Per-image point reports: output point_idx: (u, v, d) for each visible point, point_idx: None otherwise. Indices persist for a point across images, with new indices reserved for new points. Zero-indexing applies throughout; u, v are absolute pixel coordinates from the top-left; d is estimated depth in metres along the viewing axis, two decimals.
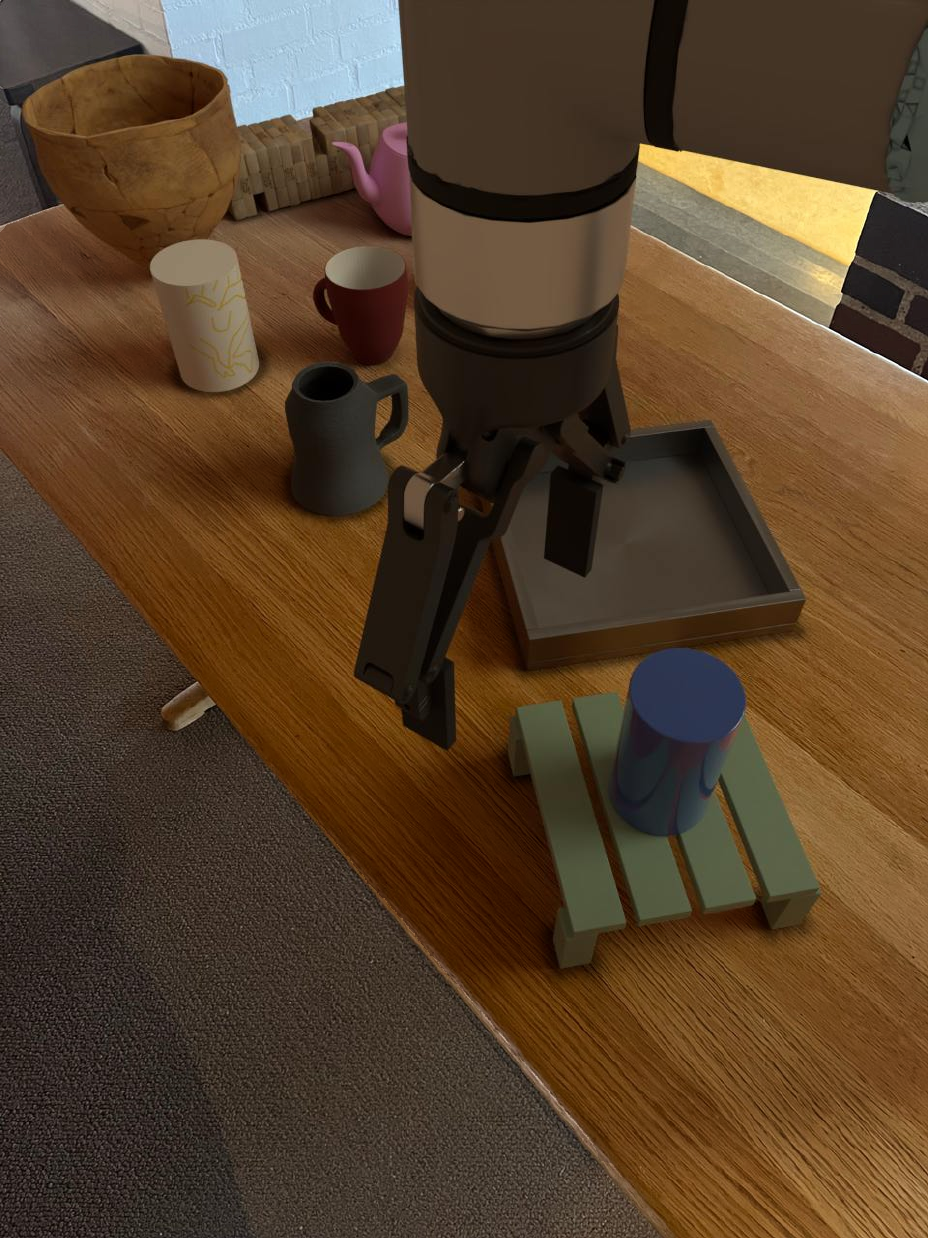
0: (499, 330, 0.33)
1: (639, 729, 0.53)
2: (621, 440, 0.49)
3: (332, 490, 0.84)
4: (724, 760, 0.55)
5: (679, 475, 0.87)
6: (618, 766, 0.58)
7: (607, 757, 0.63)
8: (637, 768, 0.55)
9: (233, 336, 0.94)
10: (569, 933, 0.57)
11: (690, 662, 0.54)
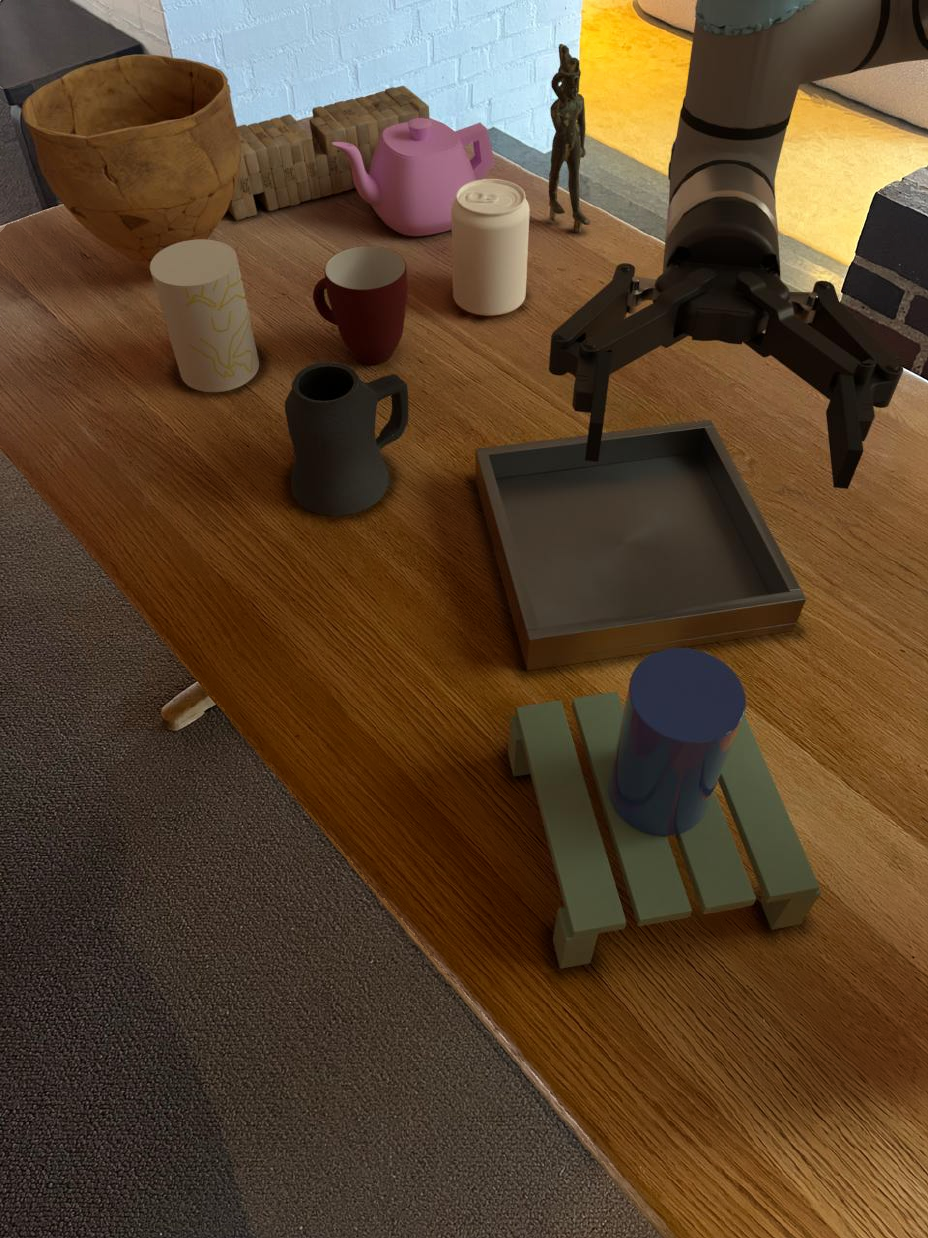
0: None
1: (639, 729, 0.53)
2: (884, 365, 0.55)
3: (332, 490, 0.84)
4: (724, 760, 0.55)
5: (679, 475, 0.87)
6: (618, 766, 0.58)
7: (607, 757, 0.63)
8: (637, 768, 0.55)
9: (233, 336, 0.94)
10: (569, 933, 0.57)
11: (690, 662, 0.54)
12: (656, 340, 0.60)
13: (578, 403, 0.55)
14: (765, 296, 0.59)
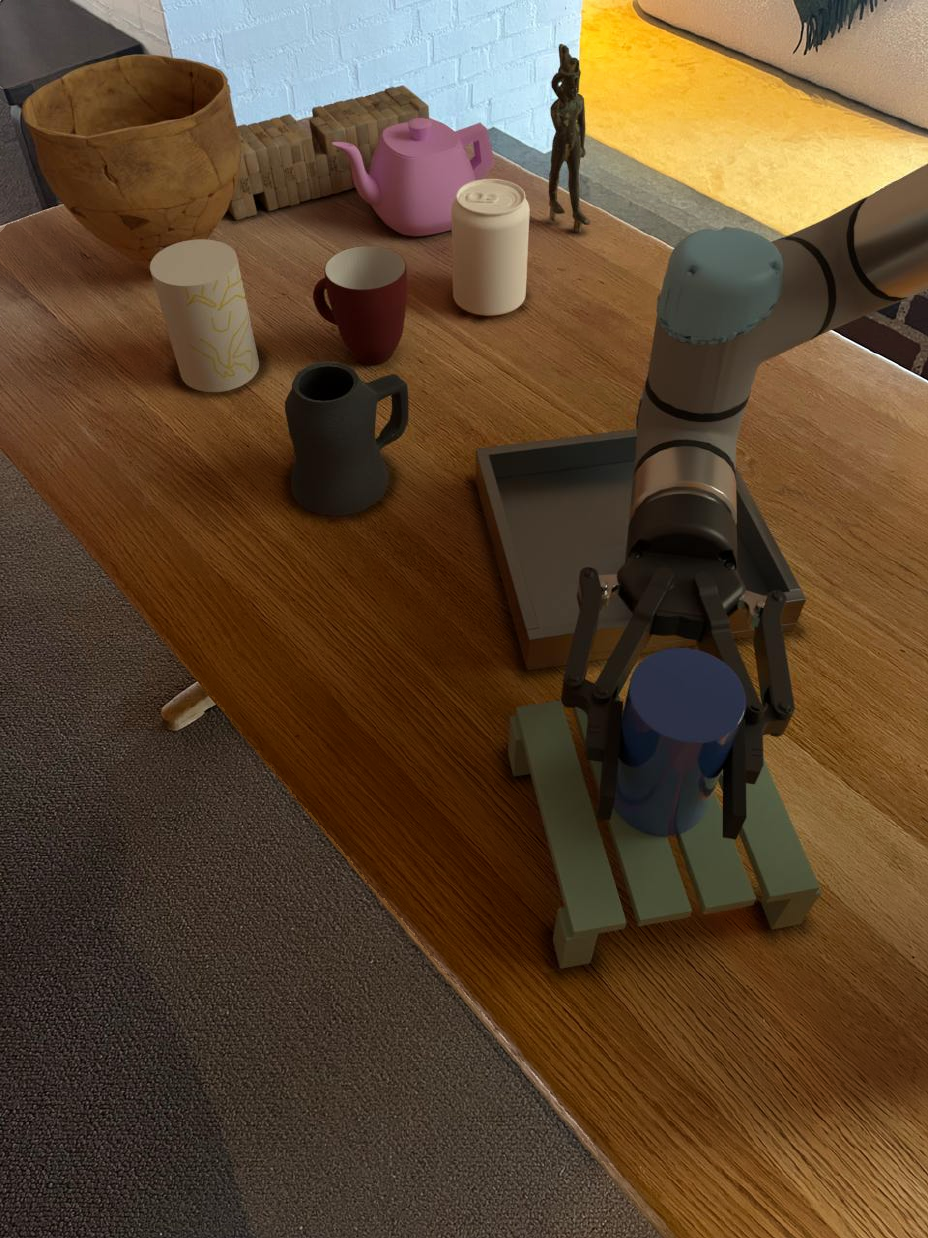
0: None
1: (639, 729, 0.53)
2: (778, 701, 0.57)
3: (332, 490, 0.84)
4: (724, 760, 0.55)
5: None
6: (618, 766, 0.58)
7: None
8: (637, 768, 0.55)
9: (233, 336, 0.94)
10: (569, 933, 0.57)
11: (690, 662, 0.54)
12: (641, 649, 0.62)
13: (590, 755, 0.56)
14: (720, 601, 0.61)
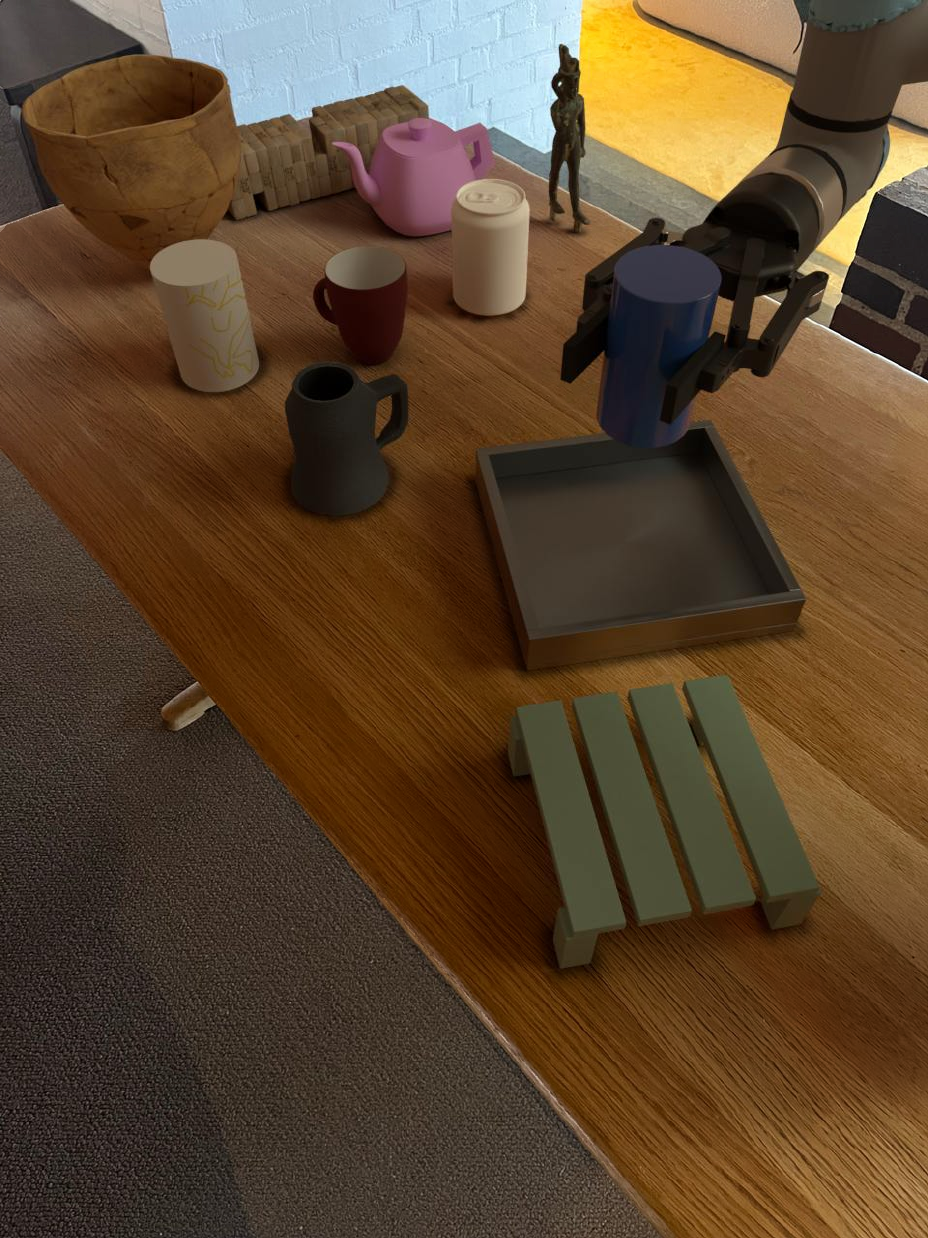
0: None
1: (613, 291, 0.58)
2: (766, 335, 0.60)
3: (332, 490, 0.84)
4: (686, 354, 0.59)
5: (679, 475, 0.87)
6: None
7: (607, 757, 0.63)
8: (609, 345, 0.61)
9: (233, 336, 0.94)
10: (569, 933, 0.57)
11: (685, 257, 0.59)
12: None
13: None
14: (761, 261, 0.64)
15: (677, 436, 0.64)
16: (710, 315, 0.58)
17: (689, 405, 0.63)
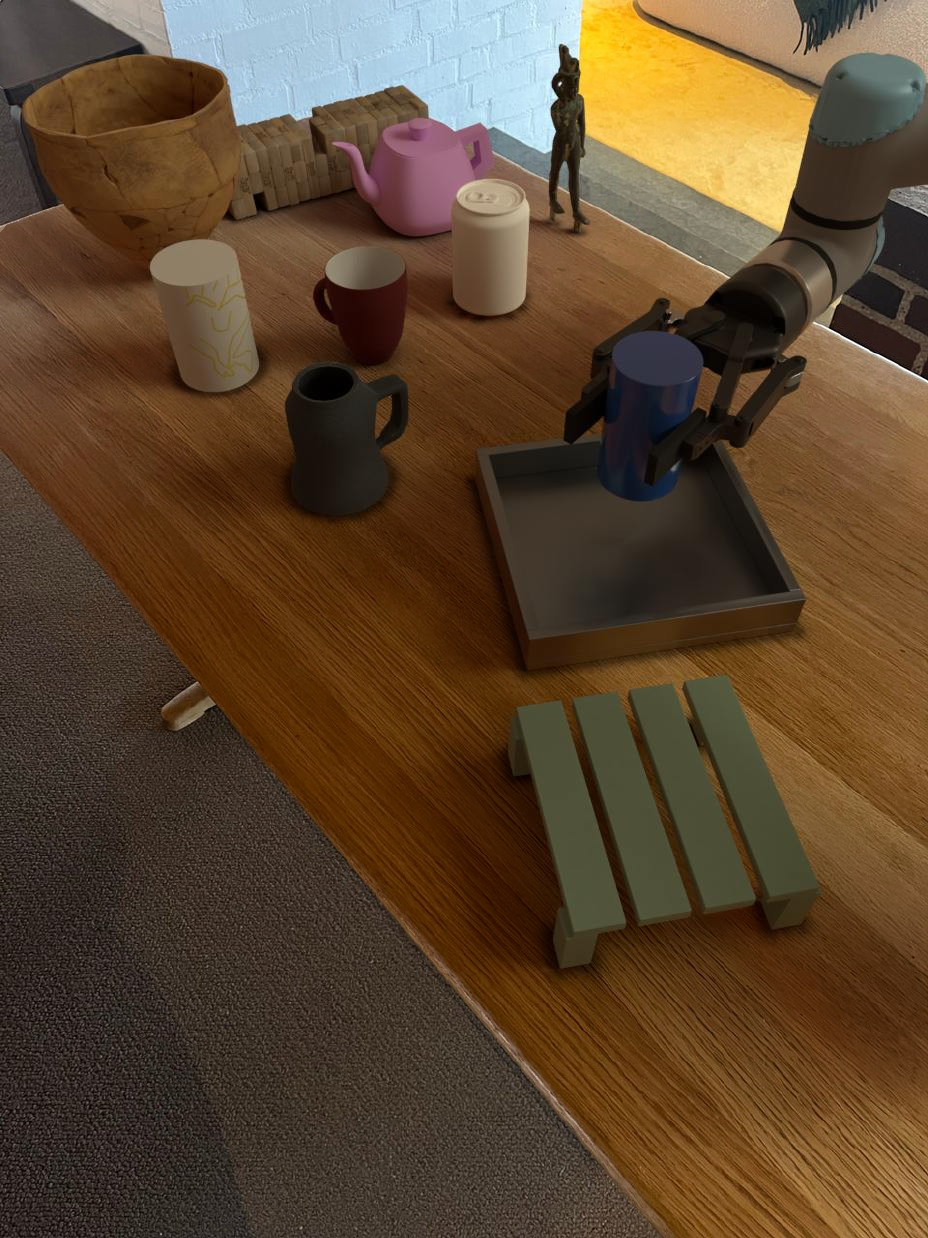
0: None
1: (610, 370, 0.68)
2: (742, 413, 0.69)
3: (332, 490, 0.84)
4: (670, 427, 0.69)
5: (679, 475, 0.87)
6: None
7: (607, 757, 0.63)
8: (607, 414, 0.71)
9: (233, 336, 0.94)
10: (569, 933, 0.57)
11: (675, 343, 0.68)
12: None
13: None
14: (747, 344, 0.74)
15: (664, 492, 0.74)
16: (692, 395, 0.67)
17: (674, 467, 0.73)
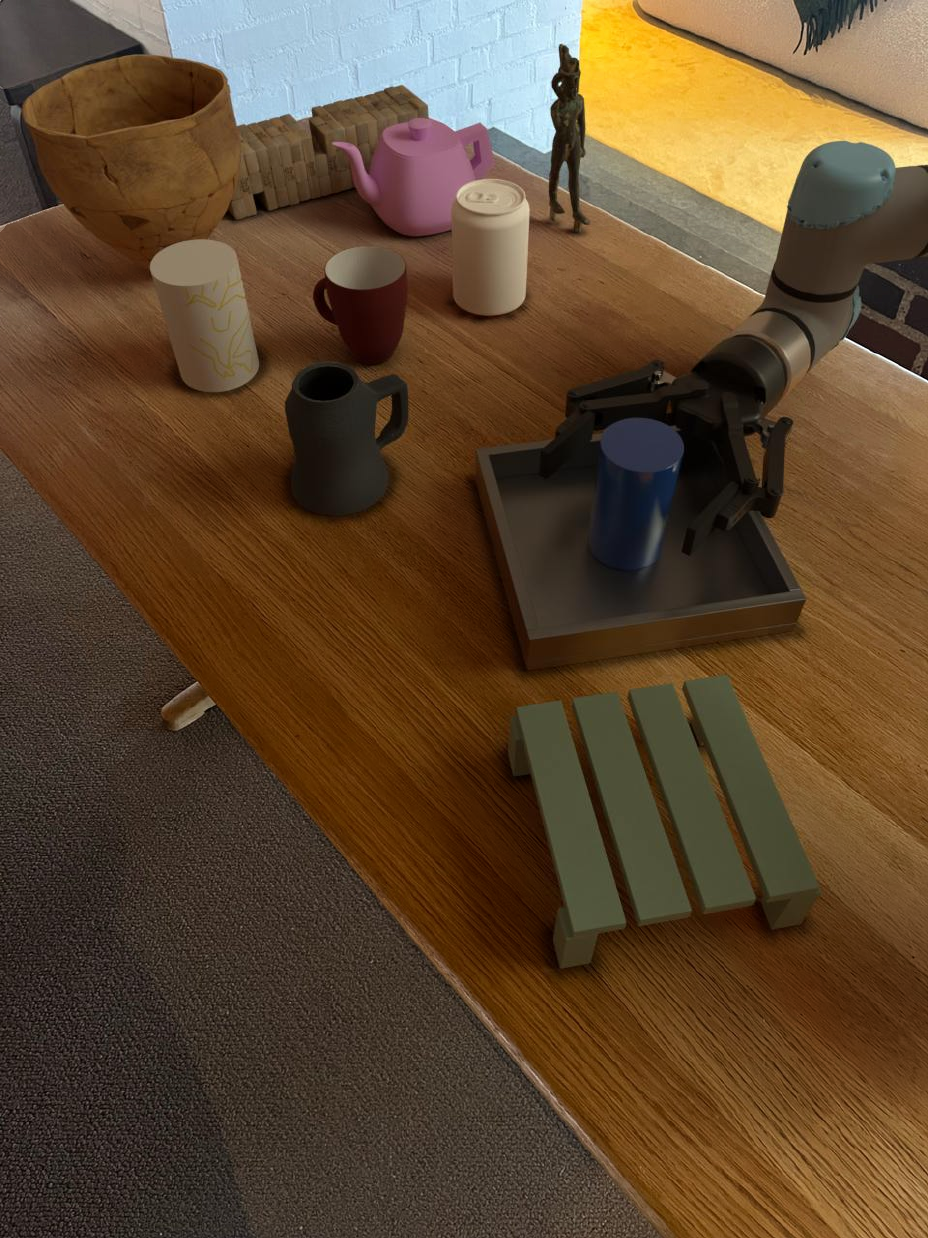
0: None
1: (599, 455, 0.74)
2: (771, 487, 0.74)
3: (332, 490, 0.84)
4: (654, 506, 0.75)
5: (679, 475, 0.87)
6: None
7: (607, 757, 0.63)
8: (596, 492, 0.77)
9: (233, 336, 0.94)
10: (569, 933, 0.57)
11: (658, 430, 0.75)
12: (648, 418, 0.82)
13: None
14: (730, 413, 0.79)
15: (649, 562, 0.80)
16: (673, 478, 0.74)
17: (659, 540, 0.79)
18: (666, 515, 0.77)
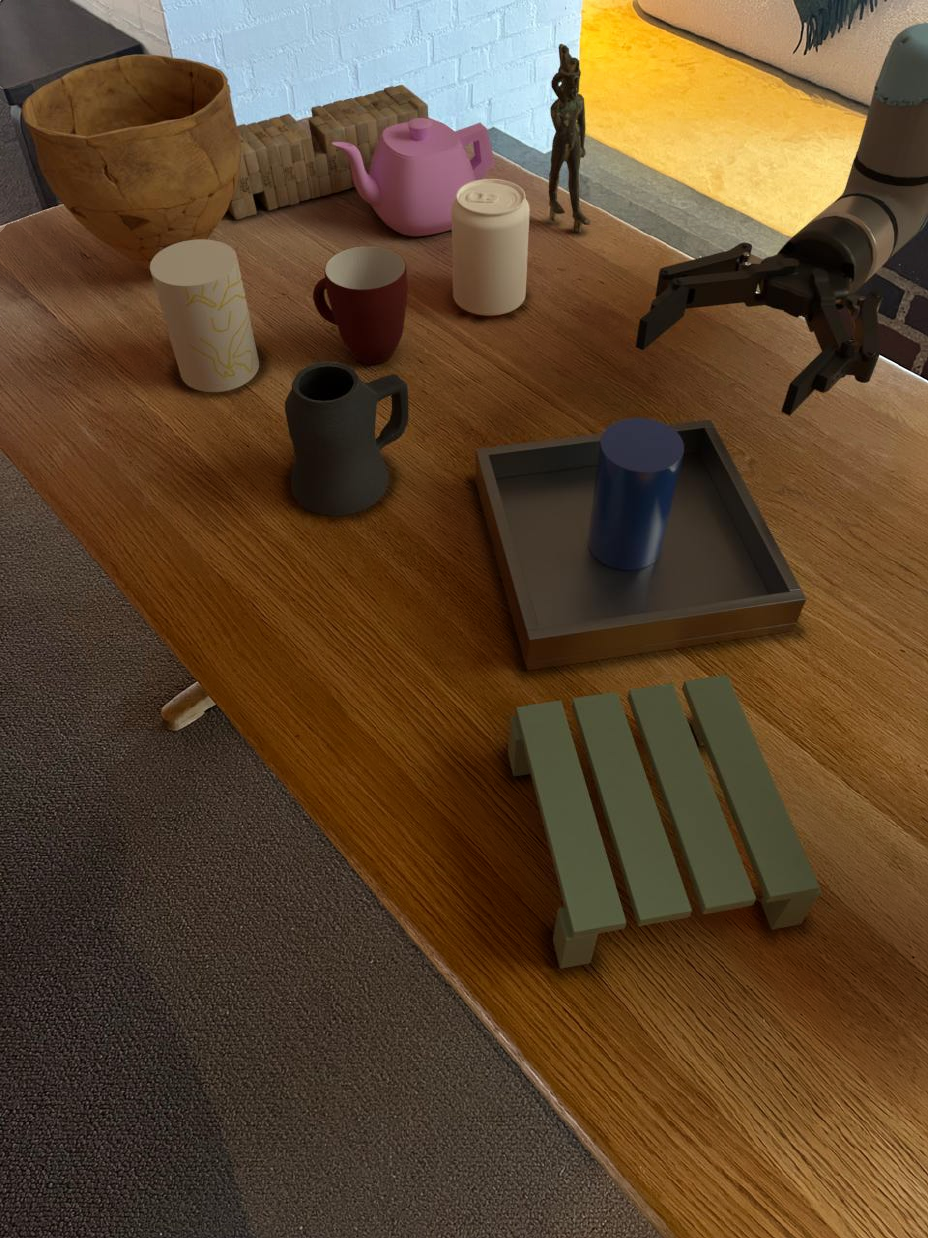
0: None
1: (599, 455, 0.74)
2: (867, 350, 0.76)
3: (332, 490, 0.84)
4: (654, 506, 0.75)
5: (679, 475, 0.87)
6: None
7: (607, 757, 0.63)
8: (596, 492, 0.77)
9: (233, 336, 0.94)
10: (569, 933, 0.57)
11: (658, 430, 0.75)
12: (738, 296, 0.84)
13: None
14: (821, 287, 0.81)
15: (649, 562, 0.80)
16: (673, 478, 0.74)
17: (659, 540, 0.79)
18: (666, 515, 0.77)
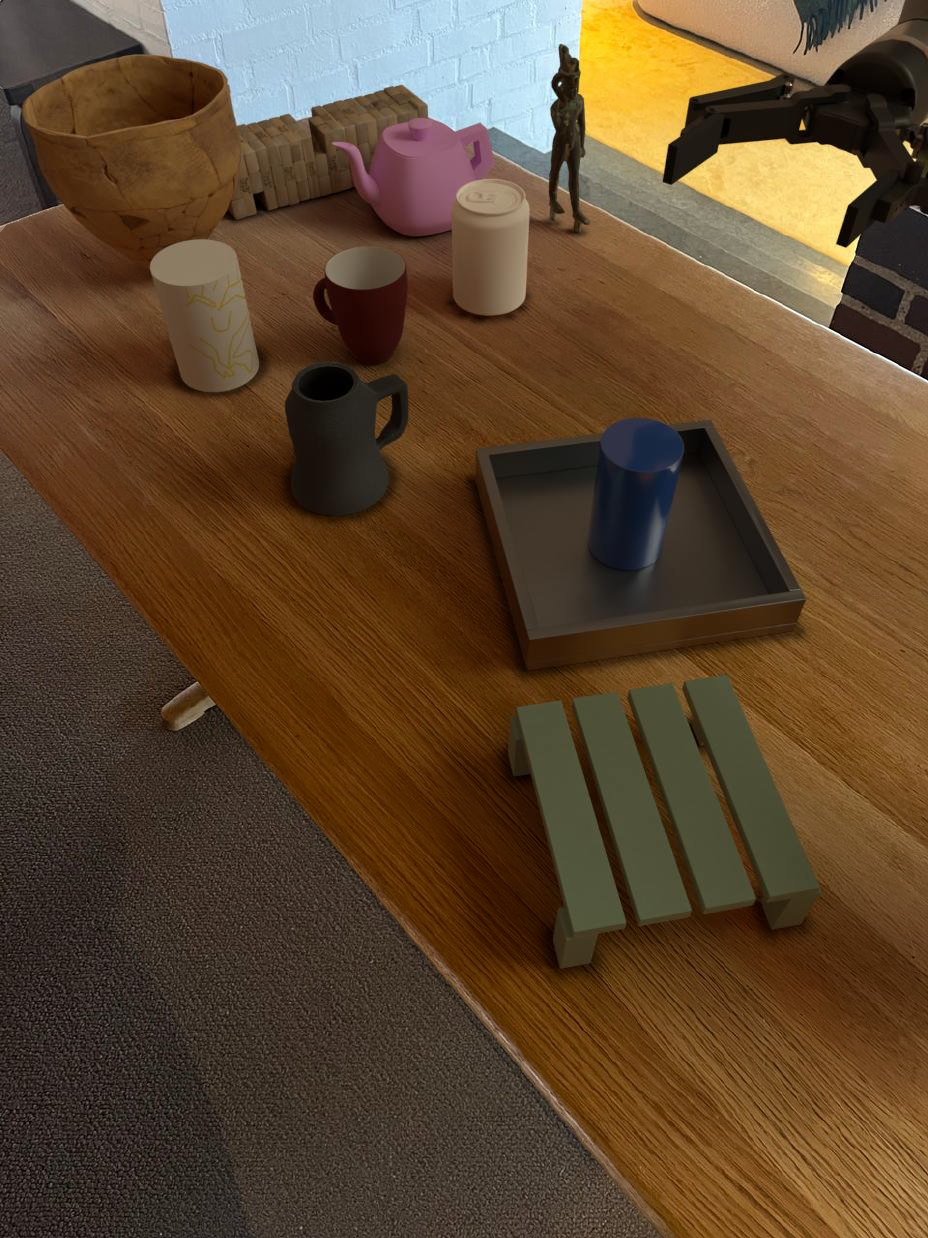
0: None
1: (599, 455, 0.74)
2: None
3: (332, 490, 0.84)
4: (654, 506, 0.75)
5: (679, 475, 0.87)
6: None
7: (607, 757, 0.63)
8: (596, 492, 0.77)
9: (233, 336, 0.94)
10: (569, 933, 0.57)
11: (658, 430, 0.75)
12: (779, 130, 0.73)
13: None
14: (879, 112, 0.70)
15: (649, 562, 0.80)
16: (673, 478, 0.74)
17: (659, 540, 0.79)
18: (666, 515, 0.77)
